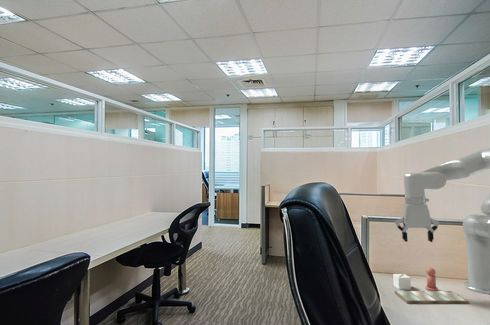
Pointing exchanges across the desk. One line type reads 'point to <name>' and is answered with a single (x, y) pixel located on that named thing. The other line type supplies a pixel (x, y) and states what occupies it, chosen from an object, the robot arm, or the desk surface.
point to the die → (402, 281)
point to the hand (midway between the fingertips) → (417, 241)
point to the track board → (431, 297)
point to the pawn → (431, 280)
